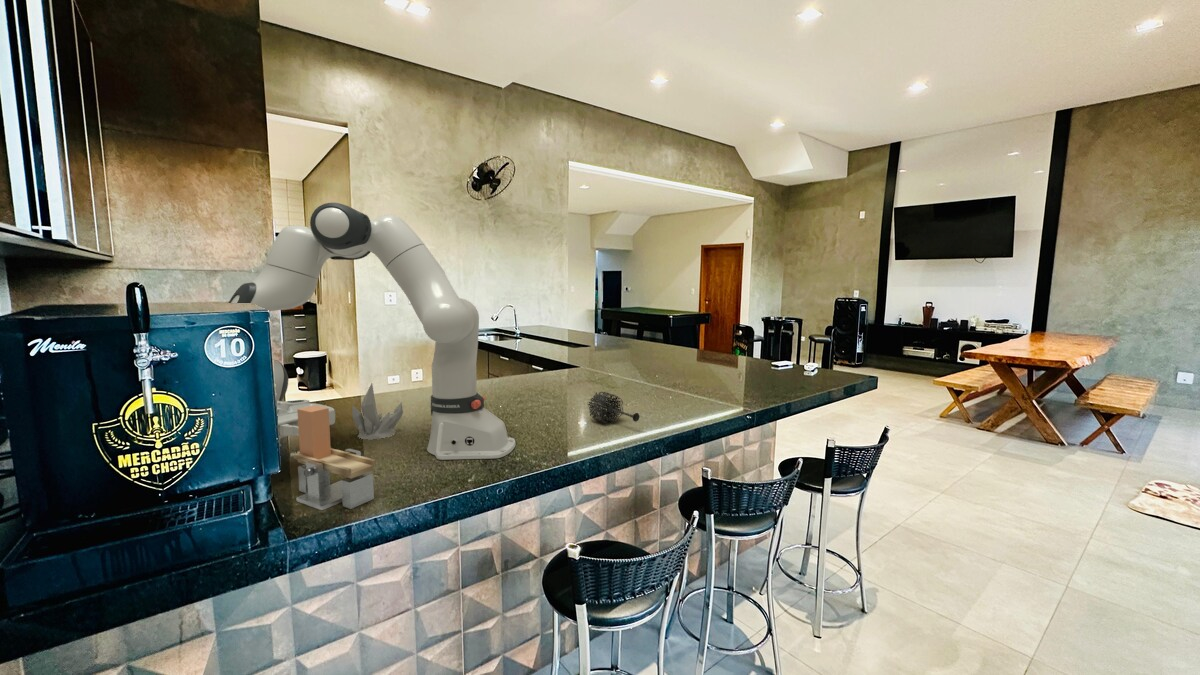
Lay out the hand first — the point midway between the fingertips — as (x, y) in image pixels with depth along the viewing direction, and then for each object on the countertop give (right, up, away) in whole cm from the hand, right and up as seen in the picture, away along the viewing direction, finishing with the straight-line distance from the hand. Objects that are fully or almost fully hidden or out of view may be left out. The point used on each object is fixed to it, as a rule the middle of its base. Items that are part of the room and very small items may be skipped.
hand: (305, 430), depth 99 cm
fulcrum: (+8, -12, -3) cm, 15 cm away
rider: (+3, -5, -1) cm, 6 cm away
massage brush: (+65, -8, +49) cm, 82 cm away
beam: (+8, -6, -4) cm, 11 cm away
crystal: (-2, -8, +36) cm, 37 cm away
